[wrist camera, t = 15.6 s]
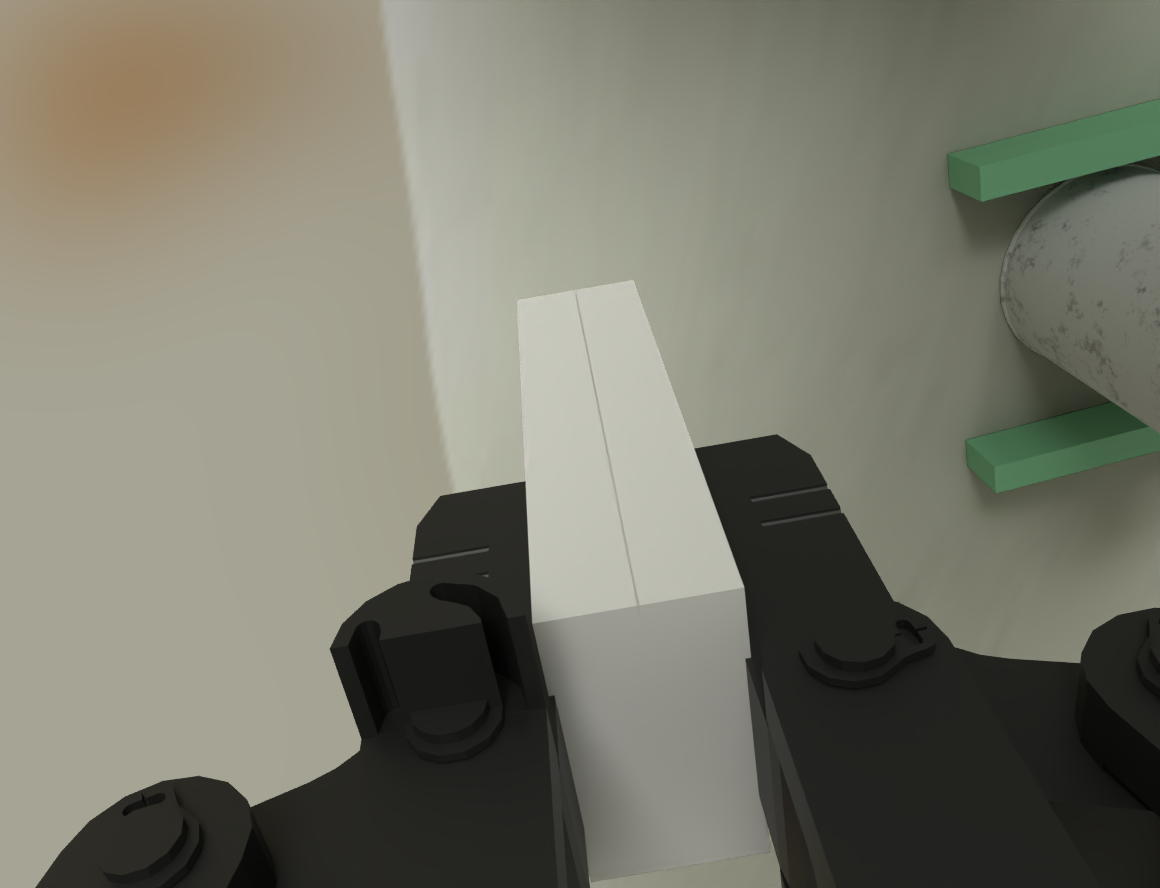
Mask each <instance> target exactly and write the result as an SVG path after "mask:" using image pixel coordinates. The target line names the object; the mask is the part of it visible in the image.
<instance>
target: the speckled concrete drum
mask: <svg viewBox="0 0 1160 888" xmlns="http://www.w3.org/2000/svg"><path fill="white" fill-rule="evenodd" d="M1000 297H1001V304H1002V308H1003V311H1004V315H1005V318H1006V321H1007V323H1008V324H1009V326H1010V328H1011V329H1012V331H1013V333H1014V334H1015V336H1016V337H1017V338H1018V339H1019V340H1020V341H1021V342H1022V343H1023V344H1025V345H1026V346H1027V347H1028V348H1029V349H1030V350H1032V351H1034V352H1036V353H1038V354H1040V355H1042V356H1044V357H1046V358H1047V359H1049V360H1050V361H1052V362H1053V363H1055V364H1056V365H1058V366H1059V367H1061V368H1062V369H1064V370H1065V371H1067V372H1068V373H1070V374H1071V375H1073V376H1074V377H1076V378H1077V379H1079V380H1080V381H1082V382H1083V383H1085V384H1086V385H1088V386H1089V387H1091V388H1092V389H1094V390H1095V391H1097V392H1098V393H1100V394H1101V395H1103V396H1104V397H1106V398H1107V399H1109V400H1110V401H1112V402H1113V403H1115V404H1116V405H1118V406H1119V407H1121V408H1122V409H1124V410H1125V411H1127V412H1128V413H1130V414H1131V415H1133V416H1134V417H1136V418H1137V419H1139V420H1140V421H1142V422H1143V423H1145V424H1146V425H1148V426H1149V427H1151V428H1152V429H1154V430H1155V431H1157V432H1158V433H1160V172H1159V171H1158V170H1156V169H1154V168H1150V167H1146V166H1142V165H1137V164H1133V163H1129V164H1125V165H1121V166H1117V167H1113V168H1110V169H1106V170H1102V171H1098V172H1094V173H1090V174H1087V175H1083V176H1079V177H1075V178H1071V179H1067V180H1065V181H1063V182H1062V183H1061V184H1059V185H1058V186H1057V187H1055V188H1054V189H1053V190H1051V191H1050V192H1049V193H1047V194H1046V195H1044V196H1043V197H1042V199H1041V200H1040V201H1039V202H1038V203H1037V204H1036V205H1035V206H1034V207H1033V208H1032V209H1031V210H1030V211H1029V213H1028V214H1027V215H1026V216H1025V218H1024V219H1023V221H1022V223H1021V224H1020V226H1019V227H1018V229H1017V230H1016V232H1015V233H1014V235H1013V237H1012V240H1011V242H1010V244H1009V247H1008V249H1007V252H1006V254H1005V257H1004V261H1003V266H1002V272H1001V277H1000Z"/></svg>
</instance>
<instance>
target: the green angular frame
mask: <svg viewBox="0 0 1160 888" xmlns="http://www.w3.org/2000/svg"><path fill="white" fill-rule="evenodd" d="M1156 156H1160V99H1157V100H1154V101H1150V102H1146V103H1142V104H1138V105H1134V106H1130V107H1127V108H1123V109H1119V110H1115V111H1111V112H1107V113H1104V114H1100V115H1096V116H1092V117H1088V118H1084V119H1081V120H1077V121H1073V122H1069V123H1065V124H1061V125H1058V126H1054V127H1050V128H1046V129H1042V130H1038V131H1035V132H1031V133H1027V134H1023V135H1019V136H1015V137H1011V138H1008V139H1004V140H1000V141H996V142H992V143H988V144H985V145H981V146H977V147H973V148H969V149H965V150H962V151H958V152H954V153H950V154H948V168H949V184H950V188H952V189H954V190H956V191H958V192H961V193H963V194H965V195H967V196H969V197H972V198H974V199H976V200H978V201H980V202H983V201H987V200H991V199H995V198H998V197H1002V196H1006V195H1010V194H1014V193H1018V192H1021V191H1025V190H1029V189H1033V188H1037V187H1041V186H1044V185H1048V184H1052V183H1056V182H1060V181H1064V180H1067V179H1071V178H1075V177H1079V176H1083V175H1087V174H1090V173H1094V172H1098V171H1102V170H1106V169H1110V168H1113V167H1117V166H1121V165H1125V164H1129V163H1133V162H1137V161H1140V160H1144V159H1148V158H1152V157H1156ZM1157 451H1160V433H1158V432H1157V431H1155V430H1154V429H1152V428H1151V427H1149V426H1148V425H1146V424H1145V423H1143V422H1142V421H1140V420H1139V419H1137V418H1136V417H1134V416H1133V415H1131V414H1130V413H1128V412H1127V411H1125V410H1124V409H1122V408H1121V407H1119V406H1118V405H1116V404H1115V403H1113V402H1110V403H1106V404H1102V405H1099V406H1095V407H1091V408H1087V409H1083V410H1079V411H1076V412H1072V413H1068V414H1064V415H1060V416H1056V417H1053V418H1049V419H1045V420H1041V421H1037V422H1034V423H1030V424H1026V425H1022V426H1018V427H1014V428H1011V429H1007V430H1003V431H999V432H995V433H991V434H988V435H984V436H980V437H976V438H972V439H968V440H966V452H967V466H968V467H969V468H970V469H971V470H972V471H973V472H974V473H975V474H976V475H977V476H978V477H979V478H980V479H981V480H982V481H984V482H985V483H986V484H987V485H988V486H989V487H990V488H991V489H992V490H993V491H994V492H995V493H1000V492H1004V491H1007V490H1011V489H1015V488H1019V487H1023V486H1027V485H1030V484H1034V483H1038V482H1042V481H1046V480H1049V479H1053V478H1057V477H1061V476H1065V475H1069V474H1072V473H1076V472H1080V471H1084V470H1088V469H1092V468H1095V467H1099V466H1103V465H1107V464H1111V463H1114V462H1118V461H1122V460H1126V459H1130V458H1134V457H1137V456H1141V455H1145V454H1149V453H1153V452H1157Z"/></svg>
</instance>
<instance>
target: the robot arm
mask: <svg viewBox="0 0 1160 888" xmlns="http://www.w3.org/2000/svg"><path fill="white" fill-rule="evenodd" d="M517 312H518V333H519V354H520V375H521V396H522V418H523V439H524V460H525V481H524V482H519V483H513V484H507V485H501V486H495V487H490V488H484V489H478V490H472V491H466V492H460V493H455V494H449V495H444V496H440V497H439V498H438V500H437V501H436V502H435V503H434V505H433V506H432V507H431V509H430V510H429V511H428V513H427V514H426V515H425V517H424V518H423V519H422V521H421V522H420V523H419V525H418V526H417V530H416V538H415V545H414V552H413V563H414V564H413V565H412V568H411V575H410V581H407V582H404V583H401V584H397V585H396V586H394V587H392V588H390V589H388V590H386V591H384V592H383V593H381V594H379V595H377V596H375V597H373V598H372V599H370V600H368V601H366V602H365V603H364V604H363V605H362V606H361V607H360V608H359V609H358V610H356V612H354V613H353V614H352V615H351V616H350V617H349V618H348V619H347V620H346V621H345V622H344V623H343V624H342V625H341V627H340V629H339V631H338V633H337V635H336V637H335V640H334V641H333V643H332V645H331V647H330V651H331V654H332V656H333V659H334V662H335V665H336V668H337V670H338V674H339V676H340V679H341V682H342V685H343V688H344V691H345V693H346V696H347V699H348V702H349V705H350V707H351V710H352V713H353V716H354V719H355V722H356V724H357V727H358V730H359V733H360V736H361V739H362V740H361V746H360V751H359V752H358V753H356V754H355V755H354V756H352V757H351V758H350V759H348V760H347V761H345V762H344V763H343V764H341V765H340V766H339V767H337V768H336V769H334V770H332V771H330V772H328V773H326V774H324V775H322V776H321V777H319V778H317V779H315V780H313V781H311V782H309V783H307V784H304V785H302V786H300V787H297V788H295V789H293V790H290V791H288V792H285V793H283V794H281V795H279V796H276V797H274V798H272V799H269V800H267V801H265V802H262V803H260V804H257V805H255V806H253V807H250V805H249V803H248V801H247V799H246V798H245V797H243V795H241V794H240V793H239V792H238V791H237V790H236V789H235V788H234V787H233V786H232V785H230V784H229V783H228V782H225V781H220V780H215V779H211V778H206V777H201V776H195V777H188V778H181V779H174V780H167V781H162V782H160V783H157V784H155V785H152V786H150V787H147V788H145V789H143V790H140V791H138V792H135V793H133V794H130V795H128V796H126V797H124V798H122V799H121V800H120V801H118V802H117V803H115V804H114V805H112V806H111V807H109V808H108V809H106V810H105V811H104V812H102V813H101V814H99V815H98V816H96V817H95V818H93V819H92V820H91V821H89V822H88V824H86V826H85V827H84V828H83V829H82V830H81V831H80V832H79V833H78V834H77V835H76V836H75V837H74V838H73V840H72V841H71V842H70V843H69V844H68V845H67V846H66V847H65V848H64V849H63V850H62V851H61V853H60V854H59V856H58V857H57V858H56V860H55V861H54V862H53V864H52V866H51V867H50V868H49V870H48V871H47V872H46V874H45V875H44V877H43V878H42V879H41V881H40V882H39V884H38V885H37V886H36V888H590V885H589V876H590V881H591V882H595V881H600V880H606V879H612V878H618V877H624V876H630V875H636V874H642V873H648V872H654V871H660V870H666V869H672V868H678V867H684V866H690V865H696V864H702V863H708V862H714V861H720V860H726V859H732V858H737V857H743V856H749V855H755V854H761V853H767V852H770V847H769V837H768V828H769V831H770V835H771V838H772V842H773V845H774V848H775V852H776V855H777V859H778V862H779V865H780V872H781V883H782V888H1160V608H1151V609H1146V610H1141V611H1136V612H1131V613H1126V614H1121V615H1117V616H1116V617H1114V618H1113V619H1111V620H1109V621H1108V622H1106V623H1104V624H1103V625H1101V626H1100V627H1098V628H1096V629H1095V630H1093V631H1092V633H1091V635H1090V637H1089V639H1088V641H1087V643H1086V645H1085V647H1084V649H1083V651H1082V653H1081V663H1068V662H1052V661H1035V660H1019V659H1007V658H1000V657H993V656H985V655H979V654H976V653H972V652H969V651H965V650H962V649H959V648H955V647H954V646H953V645H952V643H951V641H950V640H949V638H948V637H947V636H946V635H945V634H944V633H943V632H942V631H941V630H940V629H939V628H938V627H937V626H936V625H935V624H934V623H933V622H932V621H931V620H930V619H929V617H927V616H925V615H923V614H921V613H919V612H917V611H915V610H913V609H911V608H909V607H907V606H905V605H903V604H901V603H899V602H894V601H893V599H892V597H891V596H890V594H889V592H888V590H887V589H886V587H885V585H884V583H883V582H882V580H881V578H880V576H879V575H878V573H877V571H876V569H875V567H874V566H873V564H872V562H871V560H870V559H869V557H868V555H867V553H866V552H865V550H864V548H863V546H862V545H861V543H860V541H859V539H858V538H857V536H856V534H855V532H854V531H853V529H852V527H851V525H850V524H849V522H848V520H847V518H846V517H845V515H844V513H843V514H841V510H840V506H839V504H838V502H837V501H836V499H835V497H834V495H833V494H832V492H831V490H830V489H828V488H827V483H826V481H825V480H824V478H823V476H822V474H821V473H820V471H819V469H818V467H817V466H816V464H815V462H814V460H813V458H812V457H811V455H810V454H808V453H806V452H805V451H803V450H801V449H800V448H798V447H797V446H795V445H793V444H792V443H790V442H788V441H787V440H785V439H784V438H782V437H780V436H779V435H777V434H776V435H771V436H765V437H759V438H753V439H747V440H742V441H736V442H730V443H724V444H718V445H713V446H707V447H701V448H695V449H694V447H693V444H692V441H691V439H690V436H689V433H688V430H687V427H686V425H685V422H684V419H683V416H682V414H681V411H680V408H679V405H678V403H677V400H676V397H675V394H674V391H673V389H672V386H671V383H670V380H669V378H668V375H667V372H666V369H665V367H664V364H663V361H662V358H661V355H660V353H659V350H658V347H657V344H656V342H655V339H654V336H653V333H652V331H651V328H650V325H649V322H648V319H647V317H646V314H645V311H644V308H643V306H642V303H641V300H640V297H639V295H638V292H637V289H636V286H635V283H634V281H633V280H630V281H624V282H618V283H612V284H607V285H601V286H595V287H589V288H584V289H578V290H572V291H566V292H561V293H555V294H549V295H544V296H538V297H532V298H526V299H521V300H517ZM767 824H768V827H767ZM588 872H589V874H588Z"/></svg>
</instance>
